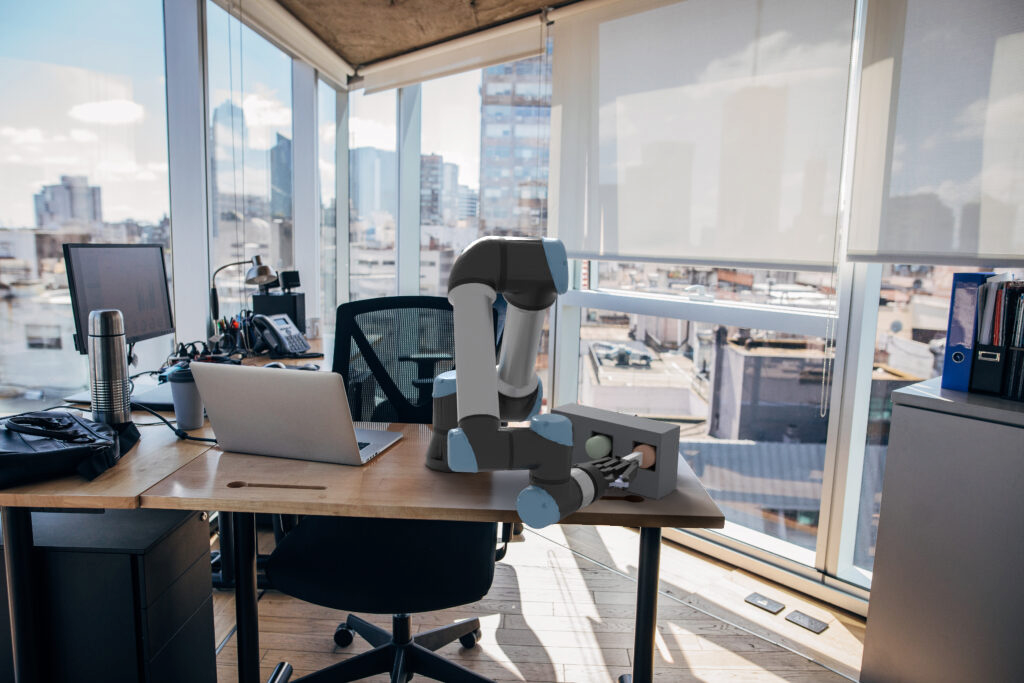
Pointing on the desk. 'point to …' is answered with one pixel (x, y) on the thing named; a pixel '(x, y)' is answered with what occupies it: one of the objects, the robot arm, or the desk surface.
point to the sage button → (599, 446)
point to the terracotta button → (647, 454)
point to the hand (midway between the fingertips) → (639, 458)
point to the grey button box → (627, 444)
